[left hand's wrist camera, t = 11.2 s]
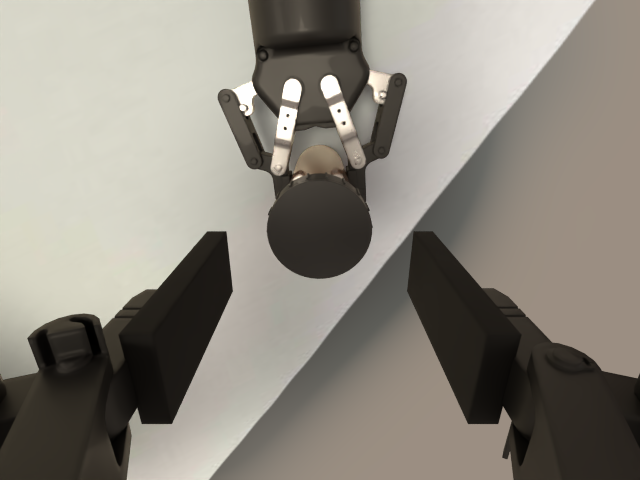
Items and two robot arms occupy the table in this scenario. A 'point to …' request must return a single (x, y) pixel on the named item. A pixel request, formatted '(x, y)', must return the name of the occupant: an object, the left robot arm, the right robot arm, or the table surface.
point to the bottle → (319, 162)
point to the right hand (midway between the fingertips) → (322, 213)
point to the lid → (319, 226)
